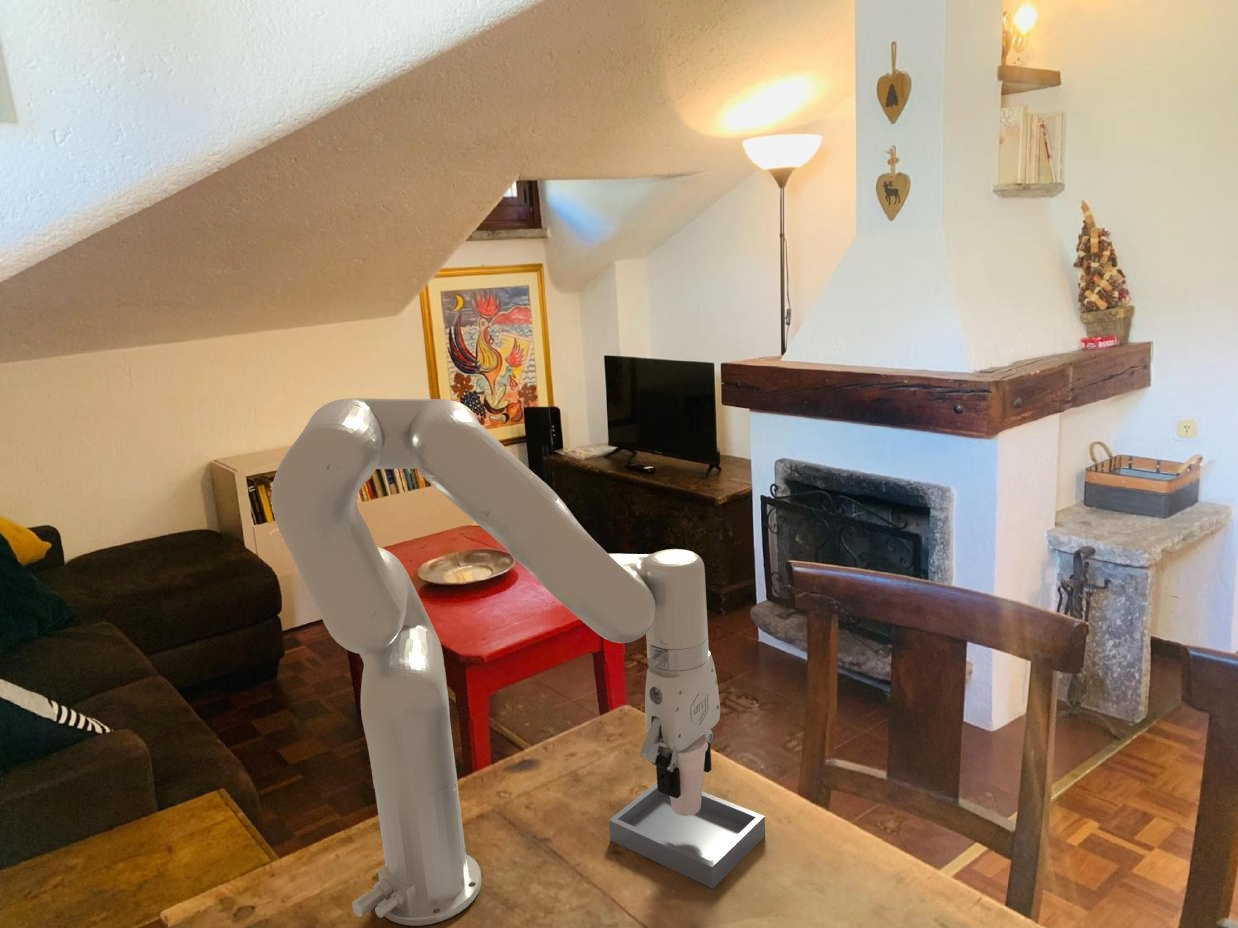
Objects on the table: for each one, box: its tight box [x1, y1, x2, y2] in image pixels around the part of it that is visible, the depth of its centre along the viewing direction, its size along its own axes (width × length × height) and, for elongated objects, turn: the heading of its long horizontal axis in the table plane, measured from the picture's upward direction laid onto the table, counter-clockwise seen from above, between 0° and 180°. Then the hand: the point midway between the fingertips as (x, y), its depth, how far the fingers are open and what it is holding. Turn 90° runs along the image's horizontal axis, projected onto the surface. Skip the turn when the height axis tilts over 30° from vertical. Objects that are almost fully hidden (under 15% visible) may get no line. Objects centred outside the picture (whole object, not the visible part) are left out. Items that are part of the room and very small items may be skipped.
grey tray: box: [608, 782, 766, 890], centre depth 120 cm, size 12×16×3 cm
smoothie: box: [662, 734, 709, 816], centre depth 117 cm, size 6×6×14 cm
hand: (685, 779), depth 118 cm, fingers closed on smoothie, 6 cm apart
